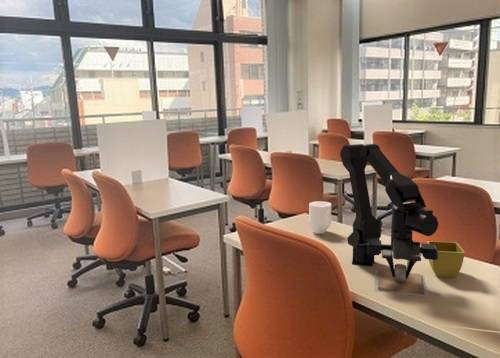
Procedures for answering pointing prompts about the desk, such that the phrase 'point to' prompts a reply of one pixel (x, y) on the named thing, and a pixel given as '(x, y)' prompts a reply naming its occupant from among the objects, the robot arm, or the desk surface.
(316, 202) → the mug
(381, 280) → the lid
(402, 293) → the tray
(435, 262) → the flower pot
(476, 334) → the desk surface
